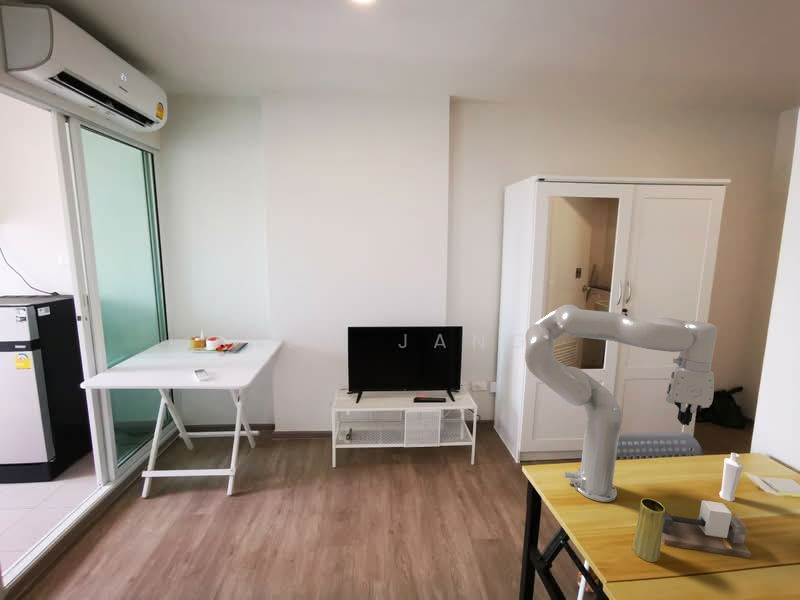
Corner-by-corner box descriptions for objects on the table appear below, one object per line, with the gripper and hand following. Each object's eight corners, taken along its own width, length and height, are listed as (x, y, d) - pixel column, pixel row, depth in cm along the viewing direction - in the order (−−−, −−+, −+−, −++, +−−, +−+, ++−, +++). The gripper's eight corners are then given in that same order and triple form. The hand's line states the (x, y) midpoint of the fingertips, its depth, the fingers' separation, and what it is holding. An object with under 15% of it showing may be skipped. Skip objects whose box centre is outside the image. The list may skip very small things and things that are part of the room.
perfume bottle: (713, 492, 124) (721, 450, 121) (725, 492, 124) (734, 450, 122) (726, 502, 120) (734, 459, 117) (739, 502, 120) (748, 458, 117)
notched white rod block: (705, 534, 104) (710, 510, 102) (697, 523, 108) (702, 500, 106) (726, 538, 103) (731, 513, 101) (718, 526, 107) (722, 503, 105)
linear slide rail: (663, 544, 104) (667, 523, 102) (648, 517, 113) (651, 497, 112) (749, 558, 100) (754, 536, 98) (726, 528, 109) (730, 508, 108)
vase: (659, 566, 97) (667, 517, 94) (631, 555, 100) (638, 507, 97) (658, 549, 102) (666, 502, 99) (632, 539, 105) (638, 493, 102)
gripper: (669, 365, 109) (659, 425, 113) (732, 372, 105) (719, 433, 109) (659, 357, 116) (650, 413, 120) (718, 363, 112) (707, 420, 116)
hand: (683, 422), depth 114 cm, fingers closed
